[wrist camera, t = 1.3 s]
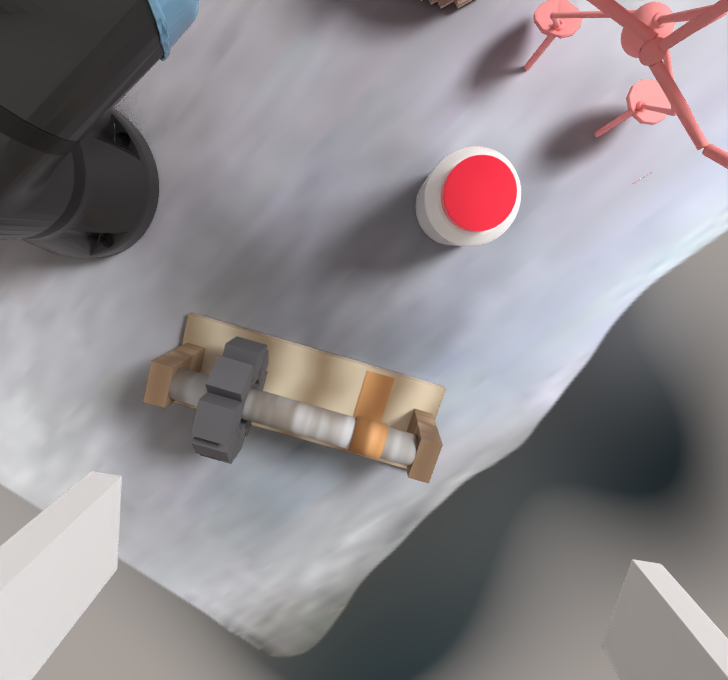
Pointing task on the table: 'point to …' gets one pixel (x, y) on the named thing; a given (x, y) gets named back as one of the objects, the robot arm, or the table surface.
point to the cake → (445, 0)
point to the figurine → (641, 56)
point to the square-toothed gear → (229, 399)
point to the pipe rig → (312, 396)
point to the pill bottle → (469, 197)
